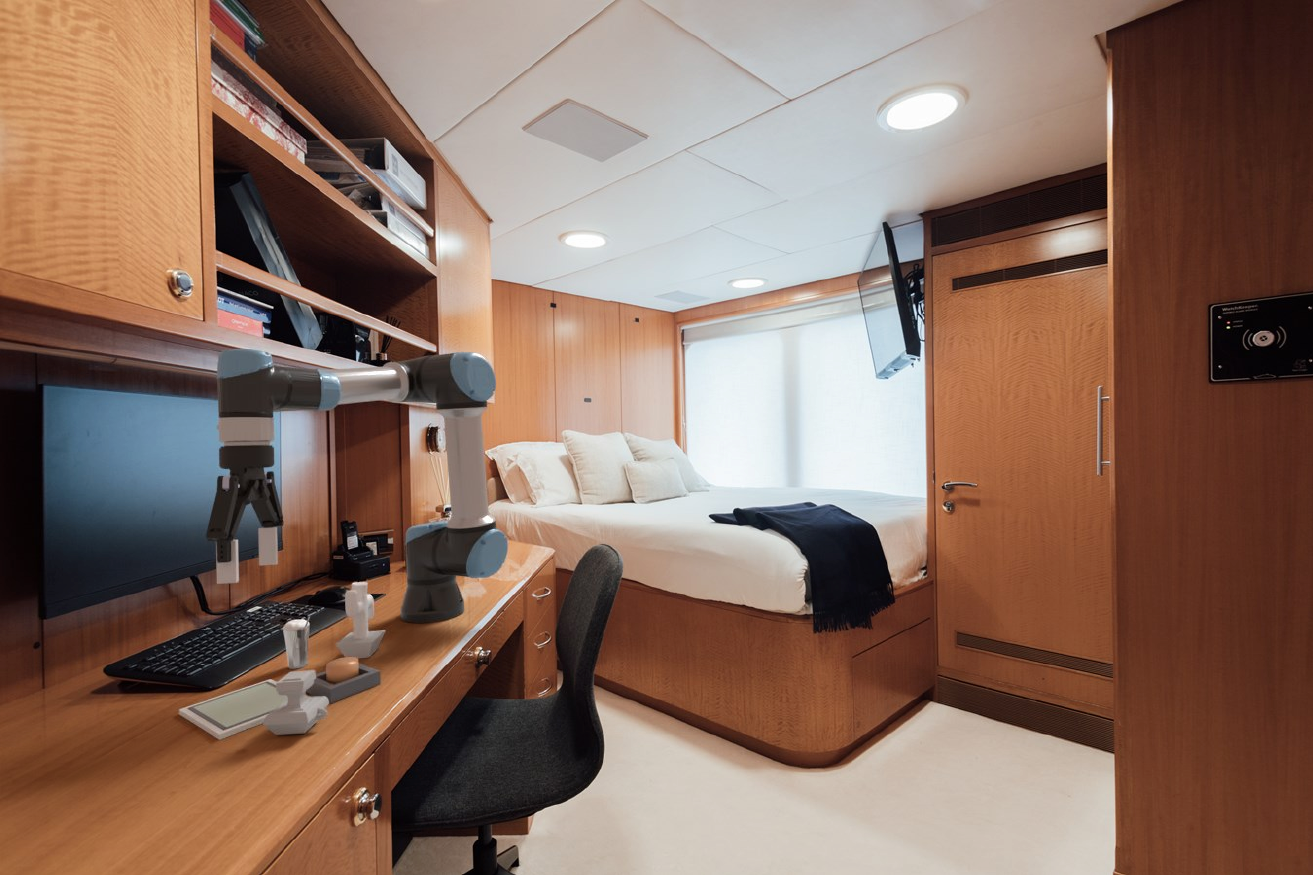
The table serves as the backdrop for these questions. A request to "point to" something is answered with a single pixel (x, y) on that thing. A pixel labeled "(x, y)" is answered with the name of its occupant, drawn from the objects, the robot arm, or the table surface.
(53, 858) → the table surface
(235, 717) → the board
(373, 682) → the button housing
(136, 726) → the table surface
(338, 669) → the button
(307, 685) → the stamp
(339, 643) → the figurine
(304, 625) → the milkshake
